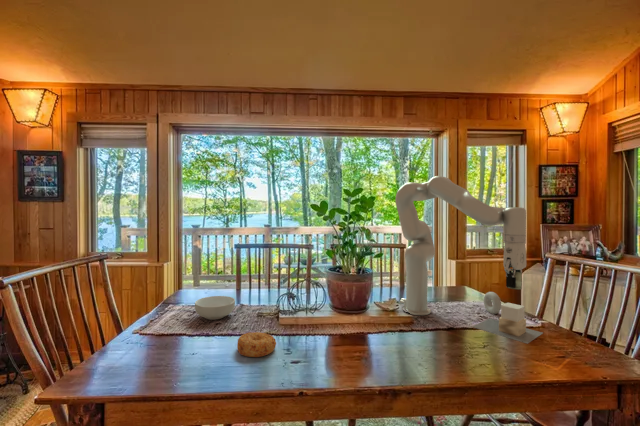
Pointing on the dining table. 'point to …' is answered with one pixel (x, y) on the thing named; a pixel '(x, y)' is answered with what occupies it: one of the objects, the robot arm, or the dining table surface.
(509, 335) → the tile
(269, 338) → the bagel
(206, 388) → the dining table surface
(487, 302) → the donut
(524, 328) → the base block
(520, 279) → the cylinder
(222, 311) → the cereal bowl
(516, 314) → the top block
